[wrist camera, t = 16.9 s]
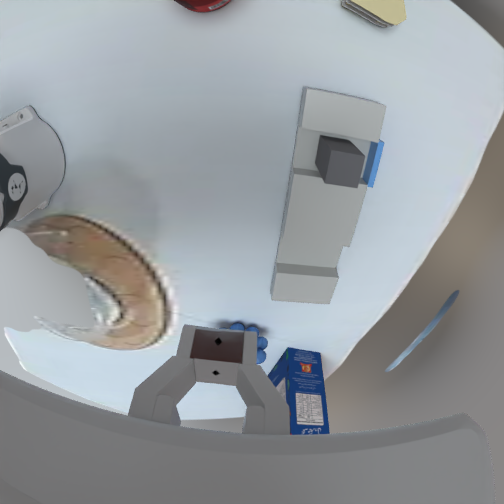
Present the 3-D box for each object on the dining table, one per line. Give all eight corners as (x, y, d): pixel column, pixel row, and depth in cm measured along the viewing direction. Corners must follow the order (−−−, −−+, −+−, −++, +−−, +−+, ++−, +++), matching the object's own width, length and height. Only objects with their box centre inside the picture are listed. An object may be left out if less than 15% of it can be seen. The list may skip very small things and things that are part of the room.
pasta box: (276, 402, 80) (276, 489, 57) (250, 398, 79) (246, 488, 56) (320, 352, 64) (332, 469, 41) (287, 347, 63) (292, 470, 40)
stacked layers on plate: (323, 23, 28) (333, 17, 23) (331, -32, 22) (341, -45, 18) (395, 44, 28) (414, 44, 24) (402, -9, 23) (421, -16, 18)
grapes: (207, 332, 60) (199, 381, 51) (211, 311, 56) (203, 362, 47) (262, 341, 61) (261, 390, 52) (270, 321, 58) (271, 373, 48)
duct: (270, 290, 53) (270, 304, 50) (303, 86, 33) (307, 88, 30) (329, 294, 53) (332, 308, 50) (381, 103, 33) (391, 107, 30)
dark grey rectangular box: (314, 163, 38) (324, 183, 32) (319, 134, 35) (331, 150, 30) (343, 167, 38) (357, 188, 32) (349, 140, 36) (365, 156, 30)
